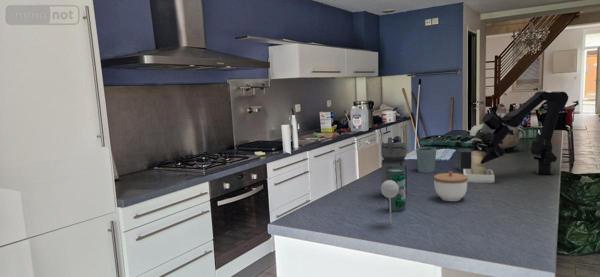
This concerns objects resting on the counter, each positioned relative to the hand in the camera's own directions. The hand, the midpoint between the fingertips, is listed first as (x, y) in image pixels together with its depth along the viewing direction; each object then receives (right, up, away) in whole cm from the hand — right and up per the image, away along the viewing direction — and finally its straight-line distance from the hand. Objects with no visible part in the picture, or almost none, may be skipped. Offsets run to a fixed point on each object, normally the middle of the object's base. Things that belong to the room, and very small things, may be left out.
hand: (475, 161), depth 192 cm
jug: (+45, +3, +69) cm, 82 cm away
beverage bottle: (-41, -13, -17) cm, 46 cm away
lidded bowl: (-21, -13, -27) cm, 37 cm away
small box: (+4, -6, +23) cm, 24 cm away
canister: (+2, -7, +1) cm, 8 cm away
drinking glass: (-15, -7, +25) cm, 30 cm away
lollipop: (-51, -18, -52) cm, 75 cm away
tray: (+2, -8, +1) cm, 9 cm away
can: (-45, -16, -36) cm, 60 cm away
